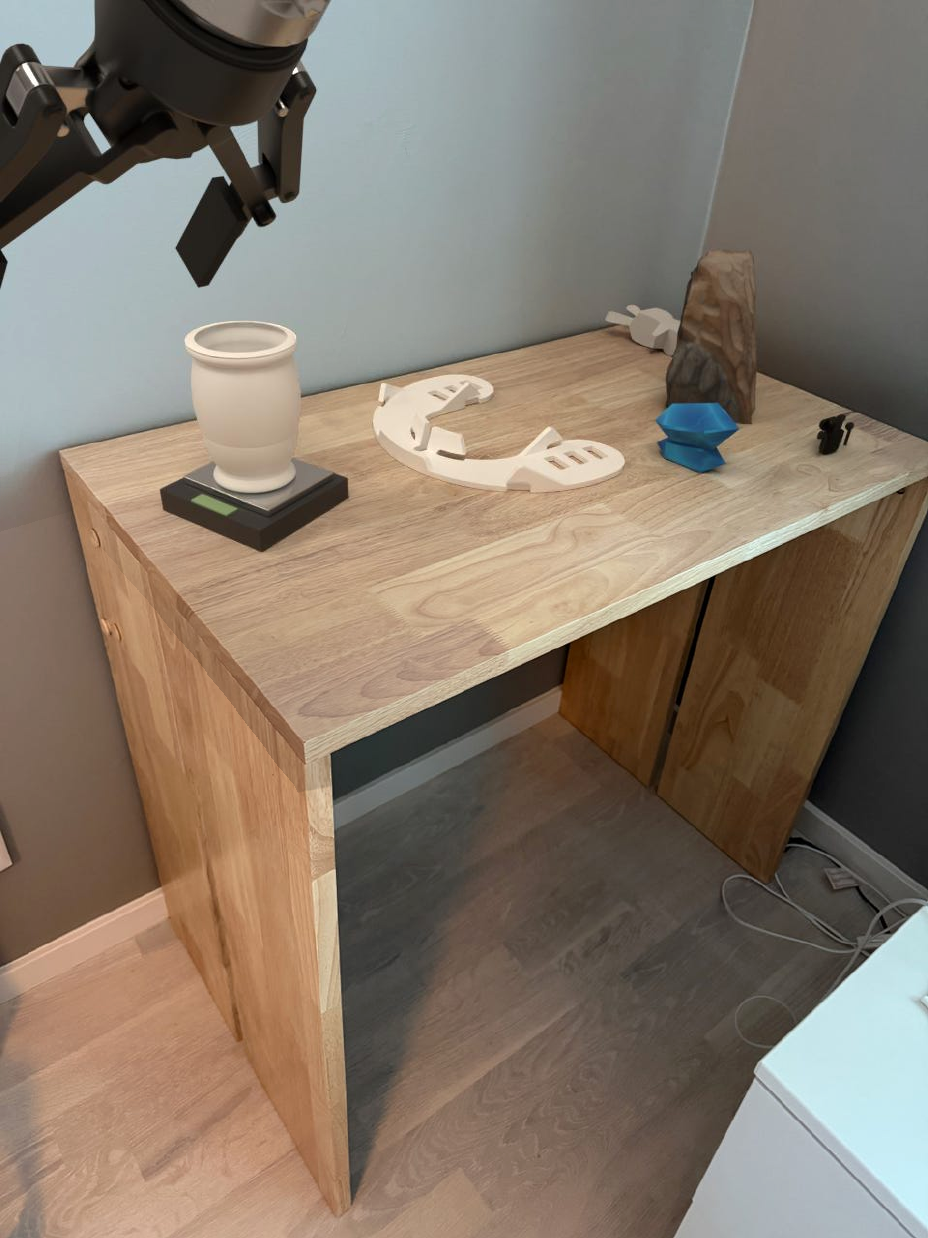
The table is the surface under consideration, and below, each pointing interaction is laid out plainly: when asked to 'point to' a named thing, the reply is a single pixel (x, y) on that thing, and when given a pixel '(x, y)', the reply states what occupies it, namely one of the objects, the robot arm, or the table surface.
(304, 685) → the table surface
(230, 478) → the jar
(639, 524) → the table surface
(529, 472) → the cable organizer
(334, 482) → the scale
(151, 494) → the table surface
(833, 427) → the wireless earbuds
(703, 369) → the brown rock
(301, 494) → the scale platform
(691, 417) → the crystal
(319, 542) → the table surface
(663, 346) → the bunny figurine
